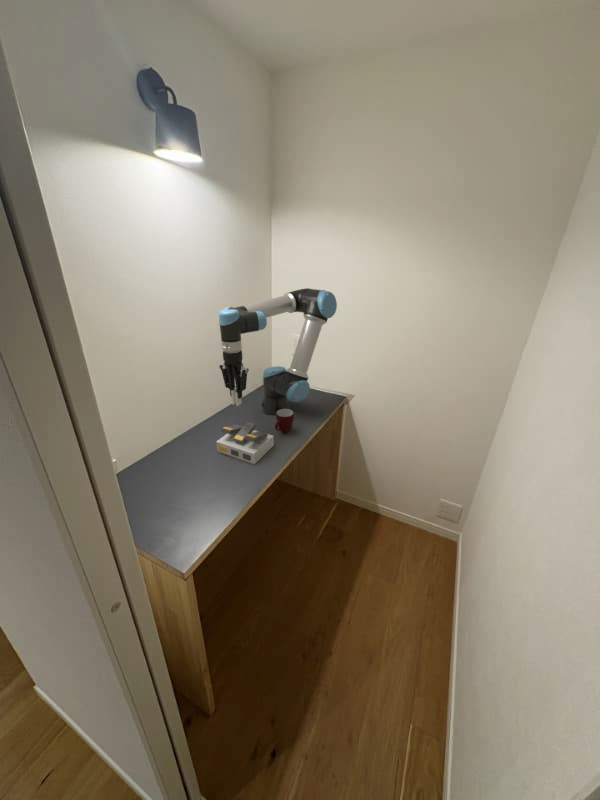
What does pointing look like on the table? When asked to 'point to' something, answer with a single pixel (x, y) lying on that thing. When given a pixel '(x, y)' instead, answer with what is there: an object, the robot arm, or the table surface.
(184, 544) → the table surface
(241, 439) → the rocker
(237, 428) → the rocker
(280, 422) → the mug
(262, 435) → the rocker
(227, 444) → the switch unit
